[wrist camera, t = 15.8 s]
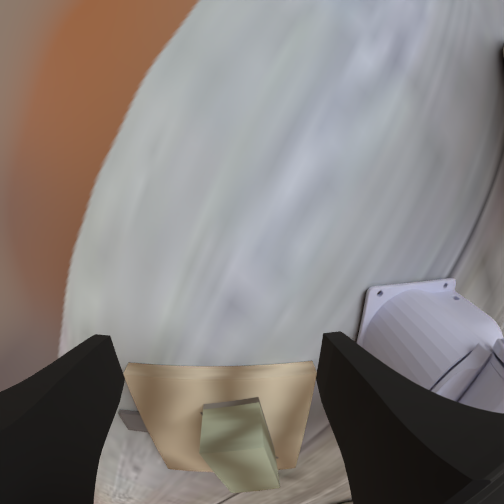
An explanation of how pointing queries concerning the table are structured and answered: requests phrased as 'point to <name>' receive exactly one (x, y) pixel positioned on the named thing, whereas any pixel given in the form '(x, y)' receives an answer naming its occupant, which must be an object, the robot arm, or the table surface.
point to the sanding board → (214, 391)
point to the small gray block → (132, 420)
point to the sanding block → (239, 445)
